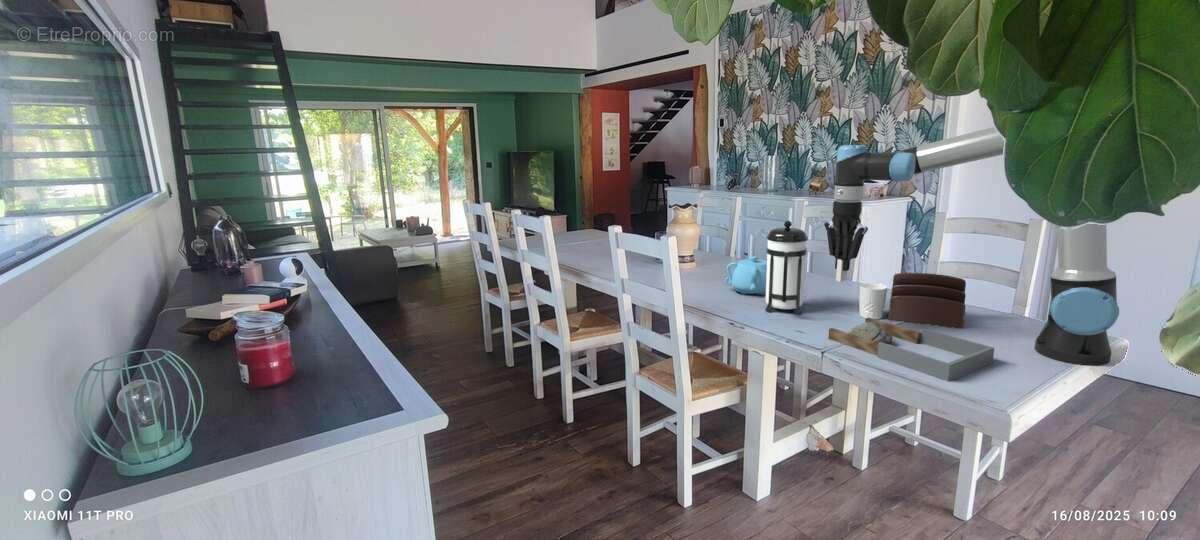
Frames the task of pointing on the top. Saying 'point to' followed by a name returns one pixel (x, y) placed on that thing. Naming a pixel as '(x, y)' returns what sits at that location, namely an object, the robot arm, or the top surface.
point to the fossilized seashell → (871, 332)
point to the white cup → (872, 300)
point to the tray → (973, 360)
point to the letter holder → (928, 299)
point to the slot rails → (869, 344)
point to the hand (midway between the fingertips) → (841, 280)
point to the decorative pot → (748, 276)
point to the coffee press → (785, 268)
